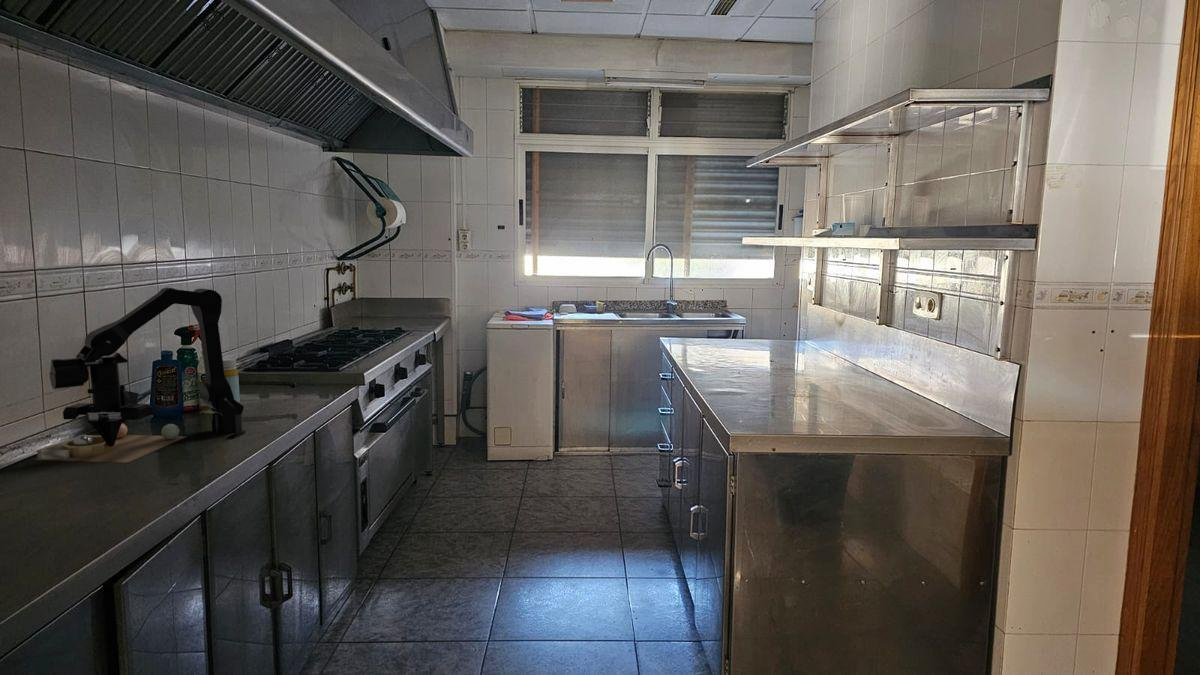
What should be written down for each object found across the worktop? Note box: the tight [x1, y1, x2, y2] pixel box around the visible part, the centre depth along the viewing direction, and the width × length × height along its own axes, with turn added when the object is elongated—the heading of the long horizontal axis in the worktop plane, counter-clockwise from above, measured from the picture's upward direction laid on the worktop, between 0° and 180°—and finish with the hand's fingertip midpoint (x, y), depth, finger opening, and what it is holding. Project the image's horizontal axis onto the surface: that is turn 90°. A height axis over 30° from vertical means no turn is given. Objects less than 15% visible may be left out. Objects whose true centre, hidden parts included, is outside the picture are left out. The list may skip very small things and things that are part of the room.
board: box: [34, 434, 188, 463], centre depth 181 cm, size 23×22×3 cm
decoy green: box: [160, 423, 180, 440], centre depth 188 cm, size 4×4×4 cm
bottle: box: [222, 357, 241, 404], centre depth 231 cm, size 7×7×15 cm
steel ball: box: [73, 434, 93, 446], centre depth 178 cm, size 4×4×4 cm
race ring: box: [62, 435, 114, 458], centre depth 177 cm, size 10×10×2 cm
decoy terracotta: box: [117, 422, 128, 438], centre depth 189 cm, size 4×4×4 cm
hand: (111, 446), depth 177 cm, fingers closed
